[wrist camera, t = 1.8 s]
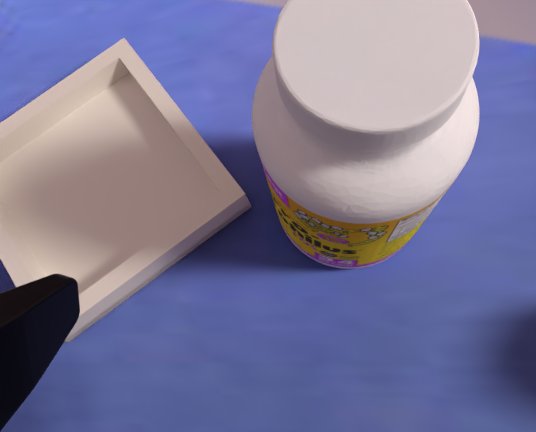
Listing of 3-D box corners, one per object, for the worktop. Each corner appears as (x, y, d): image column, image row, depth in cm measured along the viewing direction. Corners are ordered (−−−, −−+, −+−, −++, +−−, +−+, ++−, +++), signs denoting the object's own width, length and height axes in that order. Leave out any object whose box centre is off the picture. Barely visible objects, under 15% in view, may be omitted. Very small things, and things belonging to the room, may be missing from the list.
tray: (69, 341, 23) (46, 340, 21) (-27, 175, 26) (-55, 160, 24) (251, 206, 24) (245, 193, 22) (138, 60, 27) (123, 37, 25)
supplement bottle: (249, 199, 24) (171, 35, 12) (349, 113, 25) (373, -127, 13) (345, 303, 22) (370, 236, 10) (450, 207, 23) (595, 33, 11)
